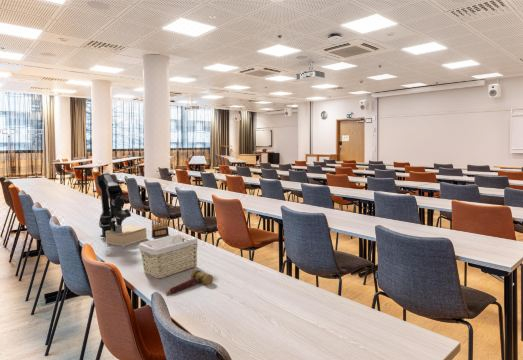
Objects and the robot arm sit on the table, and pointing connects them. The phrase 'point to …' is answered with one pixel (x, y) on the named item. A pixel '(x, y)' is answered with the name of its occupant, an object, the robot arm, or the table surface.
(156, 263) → the storage basket
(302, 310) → the table surface
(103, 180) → the robot arm
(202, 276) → the gavel
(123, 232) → the mailer lid
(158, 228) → the ammunition clip
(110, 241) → the mailer box
